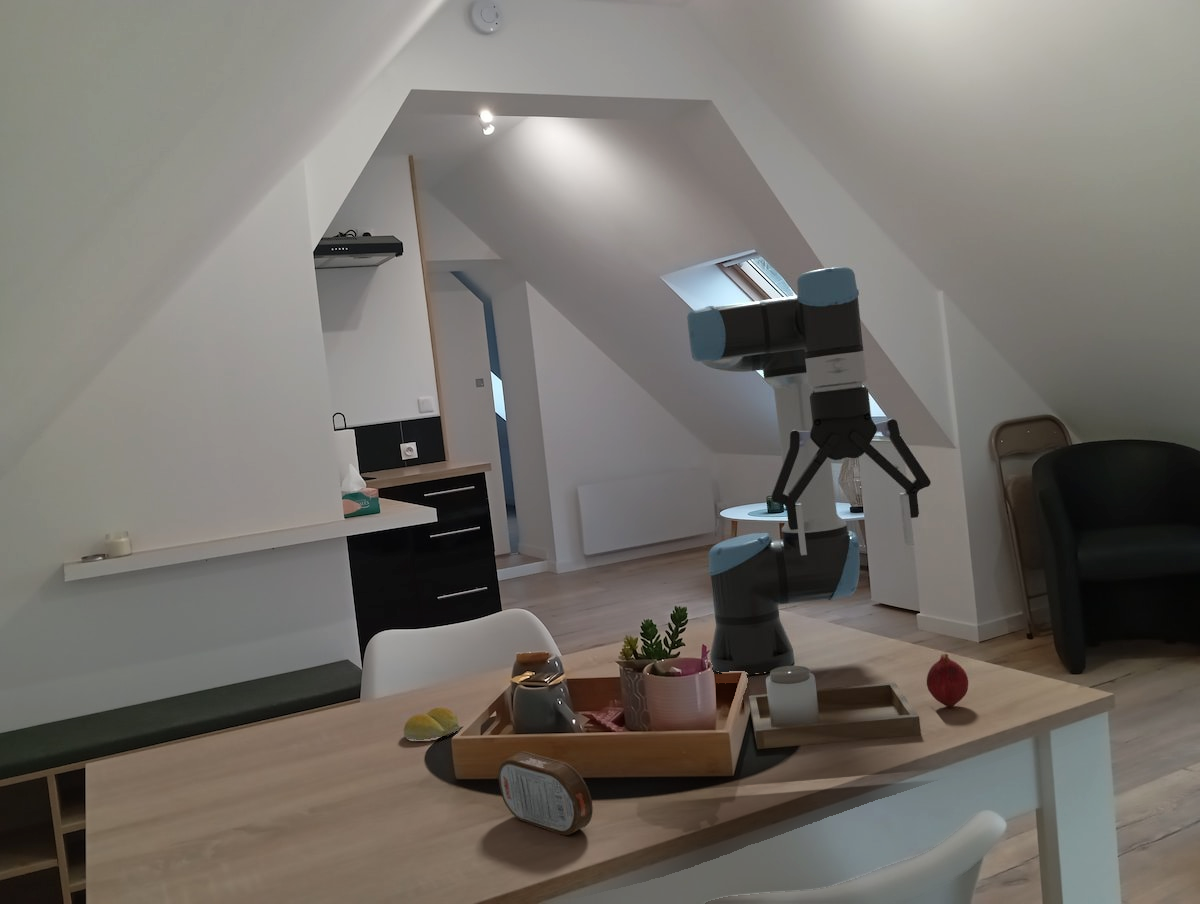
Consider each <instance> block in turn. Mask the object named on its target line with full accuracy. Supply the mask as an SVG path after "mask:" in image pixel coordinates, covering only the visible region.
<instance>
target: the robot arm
mask: <svg viewBox="0 0 1200 904" xmlns="http://www.w3.org/2000/svg"><path fill="white" fill-rule="evenodd" d="M855 275H856V274H855V271H854V270H853V269H852V268H850V267H846V266H839V267H829V268H826V267H825V268H821V269H816V270H810V271H807V272H804V273H802V274H800V275H799V276H798V278H797V281H796V282H797V283H796V284H797V285H796V287H797V294H796V295H792V296H791V295H790V296H785V297H777V298H771V299H763V300H757V301H749V302H739V303H732V304H731V303H730V304H725V305H724V304H723V305H717V306H713V305H709V306H705V307H702V308H698V309H693V310H691V311H689V312H688V313H687V316H686V318H687V330H688V331H687V332H688V338H689V340H688V341H689V347H690V354H691V357H692V359H693V360H694V361H696V362H701V363H702V364H703V365H705V366H706V367H709V368H711V369H714V370H719V371H725V372H733V373H734V372H737V373H742V372H743V373H744V372H746V373H747V372H755V371H756V372H757V371H762V372H763V373H762V374H763V381H764V382H766V383H767V384H768V385H769V386H771V387H772V389H773V393H774V401H775V410H776V419H777V420H776V421H777V428H778V435H779V437H778V438H779V444H780V453H781V462H782V466H781V469H780V472H779V474H778V477H777V480H776V483H775V485H774V487H773V491H772V493H771V500H772V502H773V503H778V504H782V505H784V506H785V508H786V515H787V516H786V517H787V521H786V523H785V524H784V525H782V527H781V534H782V535H781V536H782V538H780V539H773V540H772V537H771V535H770V533H768V532H757V533H756V532H755V533H749V534H744V535H740V536H735V537H732V538H729V539H726V540H723V541H720V542H718V543H716V544H714V545H713V546H712V547H711V549H710V550H709V553H708V567H709V569H708V575H709V576H710V581H711V593H712V600H713V601H712V603H713V610H714V612H713V613H714V618H715V629H714V634H713V638H712V639H713V640H712V644H711V649H710V653H709V660H710V664H711V663H712V665H713V670H712V671H714V672H715V671H719V672H729V671H745V672H747V673H748V674H749V675H748V676H751V675H750V674H755V673H764V672H770V671H771V670H773V669H775V668H779V667H784V666H793V664H794V663H795V653H794V648H793V646H792V643H791V642H790V638H789V636H788V635H787V632H786V631H785V628H784V626H783V623H782V622H781V617H780V610H779V605H786V604H797V603H804V602H805V603H806V602H815V601H823V600H824V601H825V600H827V601H832V600H834V599H842V598H847V597H850V596H852V595H853V594H854V593H855V592H856V589H857V587H858V584H859V578H860V569H861V568H860V567H861V566H860V564H861V561H860V559H861V558H860V554H861V553H860V548H859V539H858V535H857V534H856V532H854V531H852V530H848V523H847V521H846V520H844V519H843V518H841V516H839V515H838V512H837V502H836V493H835V485H834V477H833V469H832V460H833V461H838V460H839V461H840V460H842V459H845V458H846V459H848V458H849V459H858V458H860V457H861V456H863V455H864V454H866V455H867V456H868V458H870V459H871V460H872V461H873V462H874V463H876V465H878V467H880V468H881V469H882V470H883V471H884V472H885V473H887V475H888V476H890V477H891V478H892V479H893V480H894V481H895V482H896V483H897V484H898V485H899V486H900V487H902V488H903V489H904V490H905V492H900V493H899V500H900V501H899V502H900V509H901V520H902V529H903V537H904V538H903V539H904V543H905V544H906V545H907V546H912V545H915V544H914V536H913V525H912V519H915V518H916V519H917V518H919V514H920V509H919V501H918V493H919V491H920V490H922V489H924V488H927V487H929V486H931V480H930V478H929V477H928V475H927V473H926V472H925V470H924V469H923V467H922V465H920V463H919V462H918V460H917V458H916V457H915V456H914V454H913V452H912V451H911V449H910V448H909V446H908V445H907V443H906V442H905V441H904V439H903V438H902V436H901V433H900V429H899V424H898V421H897V420H896V419H893V418H887V419H886V420H884V421H880V422H876V423H875V422H874V420H873V418H872V413H871V403H870V395H869V389H868V388H867V386H863V385H864V384H863V383H865V382H867V379H868V376H867V369H866V368H867V367H866V362H865V361H866V360H865V353H864V345H863V344H864V342H863V335H862V325H861V323H862V322H861V316H860V315H861V314H860V304H859V296H860V293H859V292H860V291H859V289H858V288H857V282H856V276H855ZM877 432H880V433H881V435H882V436H883V437H885V438H889V440H890V442H891V443H892V445H893V446H894V449H895V450H896V451H897V453H898V454H899V455H900V457H901V459H902V460H903V462H904V464H905V465H906V466H907V468H908V469H909V471H910V472H911V474H912V475H913V477H914V480H913V481H911V480H910V479H909V478H907V476H905V475H904V474H903V473H902V472H901V471H900V470H899V469H898V468H897V467H896V466H895V465H893V464H892V463H891V462H890V461H889V460H888V459H887V458H886V457H885V456H883V454H881V453H880V452H879V451H878V450H877V449H876V448H875V447H874V446H873V445H872V444H871V442H872V441H873V439H874V437H875V436H876V434H877Z"/></svg>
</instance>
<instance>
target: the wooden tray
mask: <svg viewBox="0 0 1200 904" xmlns="http://www.w3.org/2000/svg"><path fill="white" fill-rule="evenodd" d="M816 692H817V701H818V709H819V718H820V723H811V724H800V725H789V726H778V727H771V722H770V713H769V705H768V696H767V693H766V694H765V693H764V694H755V695H748V699H749V709H750V716H751V720H752V721H751V722H752V727H753V731H754V732H753V733H754V738H755V743H756V748H757V749H756V750H764V749H776V748H777V749H778V748H787V747H797V746H808V745H809V746H810V745H822V744H823V745H824V744H831V743H843V742H844V743H846V742H855V741H866V740H878V739H879V740H880V739H888V738H889V739H890V738H900V737H912V736H914V737H915V736H921V735H922V731H921V721H920V720H921V719H920V716H919V714H918V712H917V711H916V710H915V708H914V707H913V706H912V704H911V703H910V701H909V700H908V699H907V697H906V696H905V695H904V692H903V691H902V690H901V688H900V687H899V686H898V685H897V683H896V682H895V681H893V682H884V683H883V682H882V683H873V684H864V685H863V684H861V685H852V686H843V687H841V686H840V687H830V688H829V687H827V688H820V689H817V688H816Z"/></svg>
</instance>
